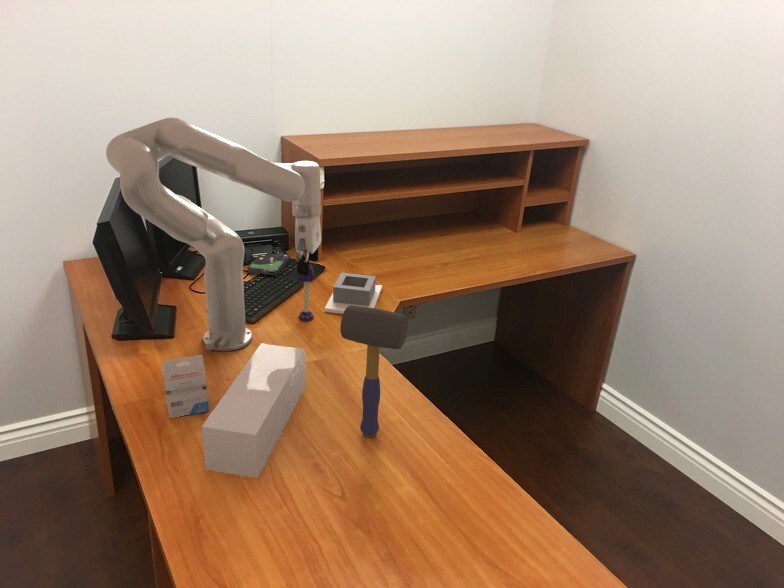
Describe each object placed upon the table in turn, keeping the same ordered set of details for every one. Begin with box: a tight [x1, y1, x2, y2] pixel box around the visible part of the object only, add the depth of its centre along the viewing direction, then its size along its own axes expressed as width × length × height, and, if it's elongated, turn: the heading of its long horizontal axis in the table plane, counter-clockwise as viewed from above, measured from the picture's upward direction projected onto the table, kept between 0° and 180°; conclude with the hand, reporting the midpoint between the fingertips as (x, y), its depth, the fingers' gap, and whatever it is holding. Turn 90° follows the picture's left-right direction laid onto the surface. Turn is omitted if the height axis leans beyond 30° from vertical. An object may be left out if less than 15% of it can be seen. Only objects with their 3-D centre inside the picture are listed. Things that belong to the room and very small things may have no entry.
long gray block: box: [201, 342, 307, 479], centre depth 133 cm, size 32×11×11 cm, turn 171°
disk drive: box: [247, 252, 292, 275], centre depth 212 cm, size 10×3×15 cm
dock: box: [324, 272, 383, 315], centre depth 191 cm, size 20×14×6 cm
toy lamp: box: [298, 263, 316, 322], centre depth 176 cm, size 5×5×17 cm
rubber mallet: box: [339, 305, 409, 438], centre depth 128 cm, size 12×8×30 cm, turn 73°
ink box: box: [161, 354, 210, 419], centre depth 135 cm, size 8×5×15 cm, turn 114°
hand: (308, 267), depth 173 cm, fingers open, 9 cm apart
